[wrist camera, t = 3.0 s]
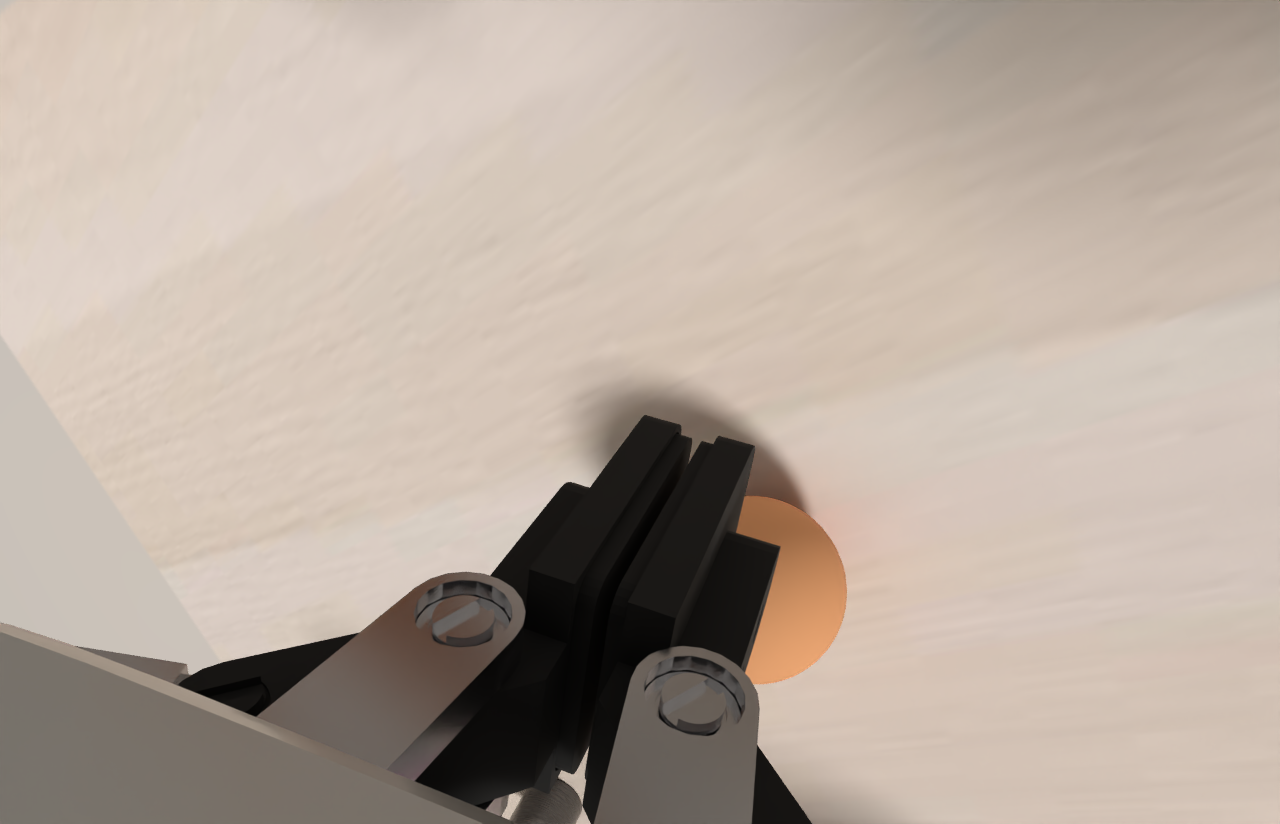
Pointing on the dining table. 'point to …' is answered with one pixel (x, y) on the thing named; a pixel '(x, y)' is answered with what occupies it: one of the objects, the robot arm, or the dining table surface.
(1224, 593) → the dining table surface
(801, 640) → the ball
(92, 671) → the robot arm
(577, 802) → the post
